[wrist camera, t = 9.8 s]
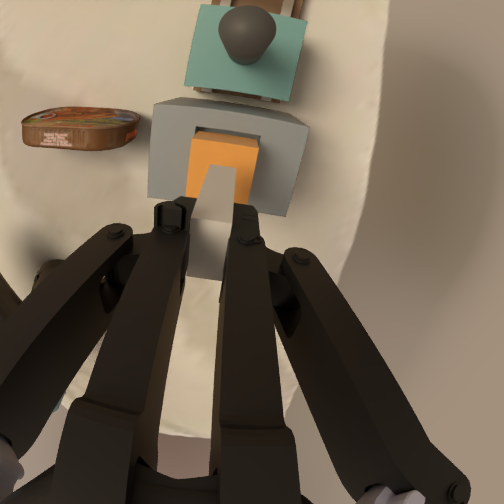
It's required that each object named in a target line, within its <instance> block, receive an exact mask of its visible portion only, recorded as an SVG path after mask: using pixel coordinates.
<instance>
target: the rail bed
mask: <svg viewBox="0 0 504 504" xmlns="http://www.w3.org/2000/svg"><path fill="white" fill-rule="evenodd" d="M302 3H303V0H212V4H211V5H219V6H229V7H238V6H243V5H251V6H257V7H260V8H262V9H264V10H266V11H267V12H269V13H274V14H279V15H283V16H288V17H292V18H296V19H299V16H300V12H301V8H302ZM193 90H197V91H204V92H216V93H223V94H231V95H237V96H244V97H250V98H255V99H260V100H264V101H269V102H276V103H280V100H279V99H274V98H269V97H264V96H259V95H253V94H248V93H242V92H235V91H228V90H221V89H213V88H204V87H194V89H193Z"/></svg>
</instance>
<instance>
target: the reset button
mask: <svg viewBox="0 0 504 504" xmlns="http://www.w3.org/2000/svg"><path fill="white" fill-rule="evenodd" d="M258 151H259V146H258V143H257V139H251V138H245V137H239V136H233V135H226V134H219V133H211V132H203V131H198V132H197V133H196V134H195V135H194V137H193V138H192V140H191V148H190V156H189V165H188V174H187V184H186V195H185V197H192V198H198V195H199V193H200V190H201V187H202V184H203V182H204V179H205V176H206V174H207V171H208V168H209V166H210V164H214V165H221V166H227V167H234V168H236V177H235V191H234V203H239V204H246V205H247V204H248V199H249V194H250V189H251V184H252V179H253V175H254V170H255V165H256V160H257V156H258Z"/></svg>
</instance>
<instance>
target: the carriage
mask: <svg viewBox="0 0 504 504" xmlns="http://www.w3.org/2000/svg"><path fill="white" fill-rule="evenodd" d="M306 25H307V21H304V20H300V19H296V18H292V17H288V16H283V15H279V14H274V13H269V12H267V11H266V10H264V9H262V8H260V7H257V6H251V5H243V6H238V7H229V6H219V5H205V4H201V6H200V10H199V14H198V18H197V22H196V26H195V31H194V35H193V40H192V45H191V50H190V55H189V60H188V65H187V71H186V76H185V82H184V86H193V87H204V88H213V89H221V90H228V91H235V92H242V93H248V94H253V95H259V96H264V97H269V98H274V99H279V100H283V101H288V102H289V98H290V94H291V89H292V85H293V81H294V77H295V72H296V68H297V64H298V59H299V55H300V51H301V46H302V42H303V38H304V34H305V29H306Z"/></svg>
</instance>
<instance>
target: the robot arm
mask: <svg viewBox="0 0 504 504" xmlns="http://www.w3.org/2000/svg"><path fill="white" fill-rule="evenodd" d="M235 177H236V168H234V167H227V166H221V165H214V164H210V166H209V168H208V171H207V174H206V176H205V179H204V182H203V184H202V187H201V190H200V193H199V195H198V198H192V197H184V196H180V197H178V198H176V199H175V200H174V201H165V202H161V203H159V204H157V205H156V206H155V207H154V228H153V230H152V232H150V233H146V234H133V230H132V228H131V227H130V226H128V225H126V224H121V223H113V224H110V225H107V226H105V227H103V228H102V229H101V230H99V231H98V232H97V233H96V234H94V235H93V236H92V237H91V238H90V239H88V240H87V241H86V242H85V243H84V244H83V245H81V246H80V247H79V248H78V249H77V250H76V251H74V252H73V253H72V254H71V255H70V256H69V257H68V258H67V259H65V260H64V261H63V260H50V261H47V262H46V263H45V264H44V265H43V266H42V267H41V268H40V270H39V271H38V273H37V274H36V277H35V280H34V284H33V287H32V291H31V293H30V294H29V295H28V296H27V297H26V298H25V299H24V300H23V301H21V299H20V298H19V297H18V296H17V294H16V293H15V292H14V291H13V289H12V288H11V287H10V286H9V284H8V283H7V281H6V280H5V279H4V277H3V276H2V274H1V273H0V504H313V503H312V502H311V501H309V500H308V499H307V498H306V497H305V496H303V495H301V493H300V483H299V472H298V463H297V452H296V444H295V438H294V435H293V433H292V430H291V429H289V428H288V427H287V426H286V424H285V422H284V416H283V406H282V395H281V385H280V375H279V365H278V355H277V346H276V336H275V327H276V329H277V332H278V334H279V337H280V339H281V342H282V344H283V346H284V349H285V351H286V354H287V356H288V358H289V361H290V363H291V366H292V368H293V370H294V373H295V375H296V378H297V380H298V382H299V385H300V387H301V390H302V392H303V394H304V397H305V399H306V401H307V404H308V406H309V409H310V411H311V414H312V416H313V418H314V421H315V423H316V425H317V428H318V430H319V433H320V435H321V437H322V440H323V442H324V444H325V447H326V449H327V451H328V454H329V456H330V458H331V461H332V463H333V466H334V468H335V470H336V472H337V474H338V476H339V478H340V480H341V482H342V484H343V486H344V487H345V489H346V490H347V492H348V493H349V494H350V496H351V497H352V498H353V499H354V500H355V501H356V502H357V503H356V504H467V503H468V501H469V498H470V493H471V487H470V482H469V480H468V479H467V477H466V476H465V475H464V474H463V473H462V472H461V471H460V470H459V469H458V468H457V467H456V466H455V465H454V464H453V463H452V462H451V461H450V460H449V459H447V458H446V457H445V456H444V455H443V454H442V453H441V452H440V451H439V450H438V449H437V448H436V447H435V446H434V445H433V444H432V443H431V442H430V440H429V439H428V437H427V435H426V433H425V431H424V429H423V427H422V425H421V423H420V422H419V420H418V418H417V416H416V414H415V413H414V411H413V409H412V407H411V405H410V404H409V402H408V400H407V398H406V396H405V395H404V393H403V391H402V390H401V388H400V386H399V385H398V383H397V381H396V380H395V378H394V376H393V374H392V372H391V371H390V369H389V368H388V366H387V364H386V362H385V361H384V359H383V358H382V356H381V354H380V353H379V351H378V349H377V348H376V346H375V345H374V343H373V341H372V340H371V338H370V337H369V336H368V333H367V332H366V330H365V329H364V327H363V326H362V324H361V322H360V321H359V319H358V318H357V316H356V315H355V313H354V312H353V311H352V309H351V307H350V306H349V304H348V302H347V301H346V299H345V298H344V297H343V295H342V293H341V292H340V290H339V289H338V287H337V286H336V284H335V283H334V282H333V280H332V279H331V277H330V276H329V274H328V273H327V271H326V270H325V268H324V267H323V265H322V264H321V263H320V261H319V260H318V258H317V257H316V256H315V255H314V254H313V253H311V252H310V251H308V250H306V249H304V248H297V247H292V248H288V249H287V250H285V252H284V255H283V254H281V253H278V252H275V251H273V250H270V249H269V248H267V247H266V246H265V241H264V239H263V238H262V237H261V236H260V231H259V222H258V211H257V210H256V209H255V208H254V206H252V205H246V204H239V203H234V191H235ZM186 271H187V275H186ZM185 275H186V276H189V277H196V278H204V279H211V280H218V281H222V285H221V291H220V298H219V303H220V305H219V318H218V331H217V344H216V359H215V374H214V391H213V409H212V430H211V451H210V462H209V476H205V477H197V478H189V479H174V478H171V477H168V476H166V475H163V474H161V473H159V472H157V463H158V445H157V444H158V433H159V425H160V418H161V411H162V404H163V397H164V391H165V385H166V379H167V373H168V367H169V361H170V356H171V350H172V345H173V340H174V335H175V329H176V324H177V320H178V315H179V310H180V305H181V301H182V296H183V291H184V287H185ZM104 276H105V277H104ZM103 277H104V278H103ZM274 325H275V327H274ZM106 330H107V332H106V334H105V337H104V340H103V342H102V345H101V348H100V351H99V353H98V356H97V359H96V362H95V365H94V368H93V371H92V374H91V377H90V380H89V383H88V386H87V389H86V392H85V394H84V395H83V396H82V397H79V398H76V399H75V400H74V401H73V402H72V403H71V406H70V408H69V410H68V414H67V417H66V420H65V424H64V428H63V432H62V436H61V440H60V444H59V449H58V453H57V458H56V463H55V464H54V465H53V466H51V467H50V468H48V469H47V470H46V471H44V472H43V473H41V474H40V475H38V476H37V477H36V478H34V479H33V480H31V481H30V482H28V483H27V484H25V485H24V486H22V487H21V488H19V489H17V490H16V491H14V492H13V488H14V484H15V483H16V481H17V480H18V479H21V478H23V476H24V469H23V467H22V465H21V464H20V463H19V461H18V460H19V459H20V458H21V457H22V456H23V455H24V454H25V453H26V452H27V451H28V450H29V449H30V447H31V446H32V445H33V444H34V442H35V441H36V439H37V437H38V436H39V434H40V433H41V431H42V429H43V427H44V426H45V424H46V422H47V420H48V419H49V417H50V415H51V414H52V412H55V411H56V410H57V409H58V408H59V406H60V403H61V401H62V399H63V396H64V394H65V393H66V389H67V388H68V386H69V384H70V383H71V381H72V380H73V378H74V377H75V375H76V374H77V372H78V371H79V369H80V368H81V366H82V365H83V363H84V362H85V360H86V359H87V357H88V356H89V354H90V353H91V351H92V350H93V348H94V347H95V345H96V344H97V343H98V341H99V340H100V338H101V337H102V336H103V334H104V333H105V331H106Z"/></svg>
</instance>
